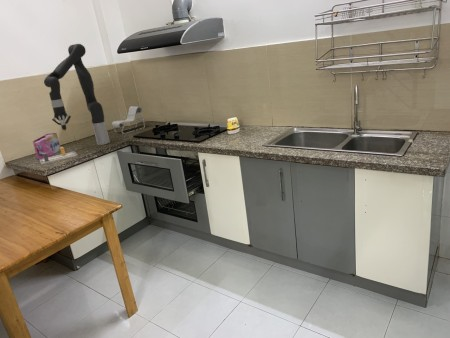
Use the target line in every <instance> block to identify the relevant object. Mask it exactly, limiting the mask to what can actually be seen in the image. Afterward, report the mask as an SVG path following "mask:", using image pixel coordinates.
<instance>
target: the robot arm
mask: <svg viewBox="0 0 450 338" xmlns="http://www.w3.org/2000/svg"><path fill="white" fill-rule="evenodd" d="M67 50H68V51H67V52H68V56H67V57H66V58H65V59H64V60H62V61H61V62H60V63H59V64H58V65H57V66H56V67H55V68H54V70H53V71H52V72H50V73H49V74H47V76H46V77H45V78H44V81H43V84H44V86H45V87H47V88H50V91H49V98H50V102H51V103H50V104H51V108H52V111H53V115H54V116H53V118H51V120H52V122H54V123H55V124H57V125H58V126H61V129H62V130H63V131H66V130H67V125H68V123H69V121H70V119H71V115H69V114H68V113H67V112H66V108H65V104H64V101H63V98H62V94H61V83H60V79H62V78H64V77H65V76H66V74H67V73H68V72H69V71H70V69H71V68H72V67H73V66H74V71H76V76H77V78H78V82H79V85H80V88H81V90H82V93H83V95H84V99H85V102H86V107H87V110H88V112H89V113H90V115H91V124H92V128H93V132H94V135H95V140H96V144H97V146H102V145H106V144H110V143H111V140H110V137H109V133H108V131H107V126H106V121H105V114H104V108H103V106H102V104H101V103H100V102H98V100H97V98H96V96H95V91H94V90H95V87H94V81H93V78H92V75H91V73H90V71H89V70H88V69H87V68H86V66H85V64H84V62H83V60H82V58H83V57H84V56H85V54H86V47H85V46H84V45H83V44H82V43H75V44H70V45H69V46H68V48H67ZM58 121H59V122H58Z"/></svg>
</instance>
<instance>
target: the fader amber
mask: <svg viewBox="0 0 450 338" xmlns="http://www.w3.org/2000/svg"><path fill="white" fill-rule="evenodd" d="M59 151H60V155H61V154H62V155H66V154H65V153H66V151H65V148H64V146H60V150H59Z"/></svg>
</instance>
